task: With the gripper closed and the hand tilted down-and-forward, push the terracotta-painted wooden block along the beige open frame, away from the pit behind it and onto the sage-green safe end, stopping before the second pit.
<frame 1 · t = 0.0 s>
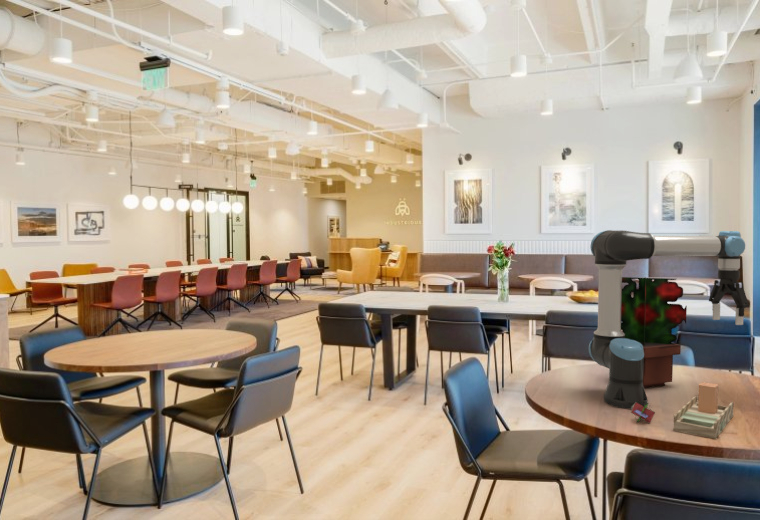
hand: (727, 322, 234), 28 cm above the table, fingers open, 13 cm apart
block: (707, 410, 199), point 3 cm above the table, touching beige open frame
icosahedron model: (642, 422, 196), on the table
potted plant: (643, 384, 247), on the table
beige open frame: (704, 423, 195), on the table
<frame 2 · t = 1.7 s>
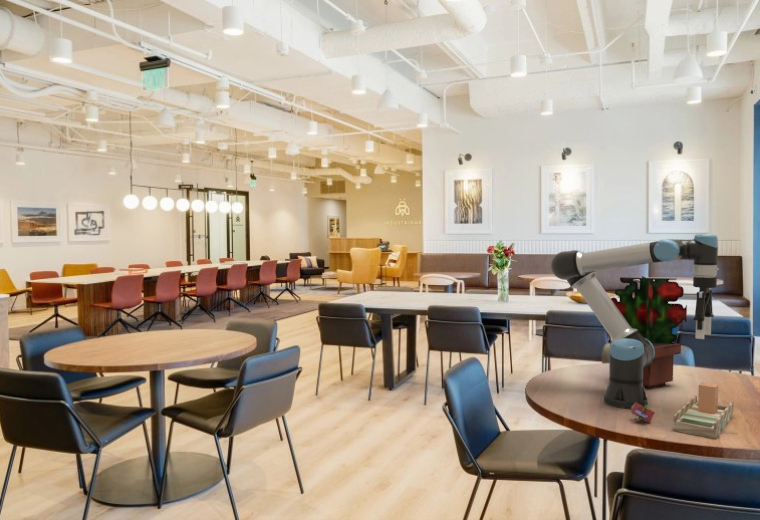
hand: (703, 336, 213), 26 cm above the table, fingers open, 11 cm apart
potted plant: (644, 384, 246), on the table, touching arm
everything else where it was.
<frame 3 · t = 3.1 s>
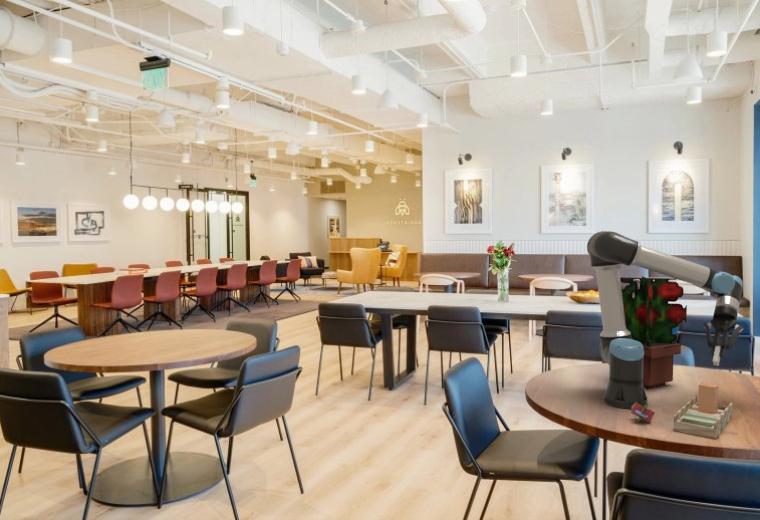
hand: (715, 363, 206), 18 cm above the table, fingers closed
potted plant: (644, 384, 246), on the table
everything else where it was.
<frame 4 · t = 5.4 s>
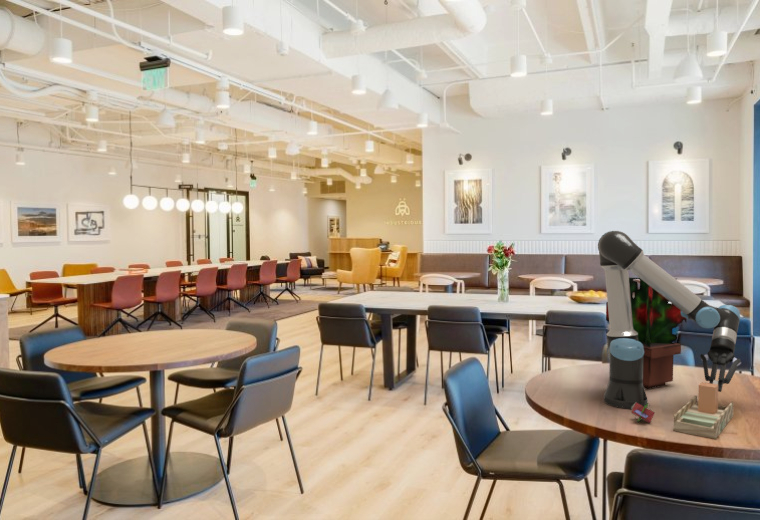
hand: (713, 398, 201), 7 cm above the table, fingers closed
block: (707, 410, 199), point 3 cm above the table, touching beige open frame, gripper
everything else where it was.
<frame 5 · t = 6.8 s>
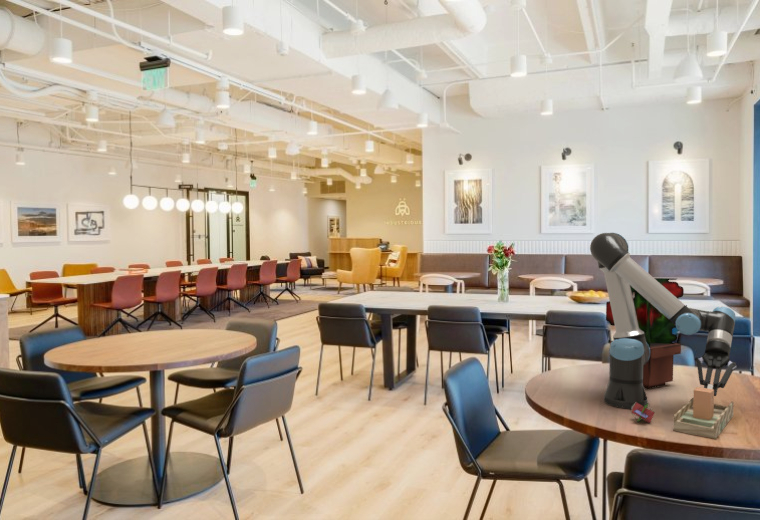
hand: (708, 402, 195), 7 cm above the table, fingers closed
block: (703, 416, 192), point 3 cm above the table, touching gripper
everything else where it was.
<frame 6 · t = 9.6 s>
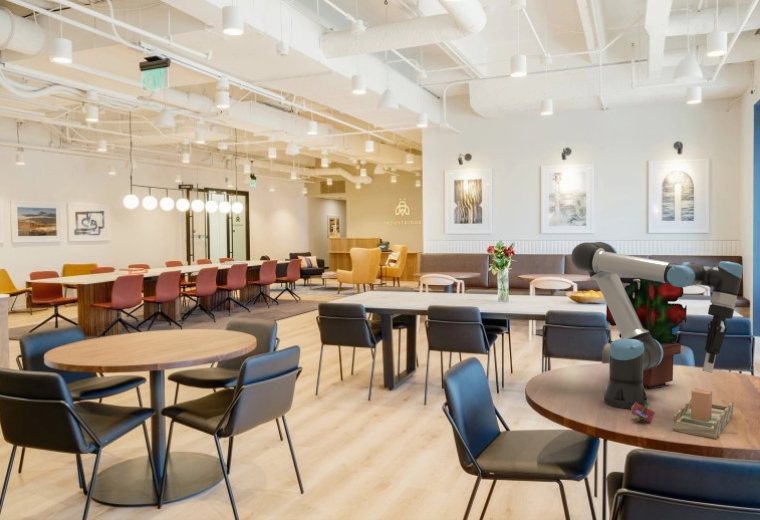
hand: (707, 371, 203), 15 cm above the table, fingers closed
block: (701, 418, 191), point 3 cm above the table, touching beige open frame
everything else where it was.
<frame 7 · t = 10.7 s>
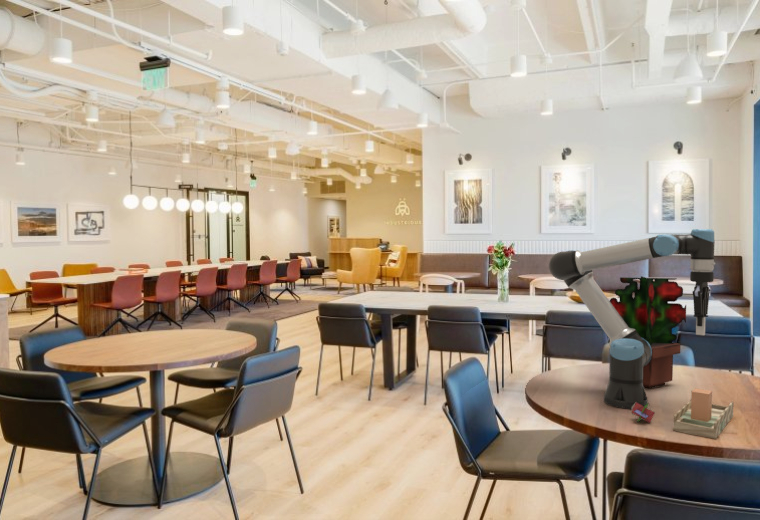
hand: (700, 334, 215), 26 cm above the table, fingers closed
nothing on the table moved.
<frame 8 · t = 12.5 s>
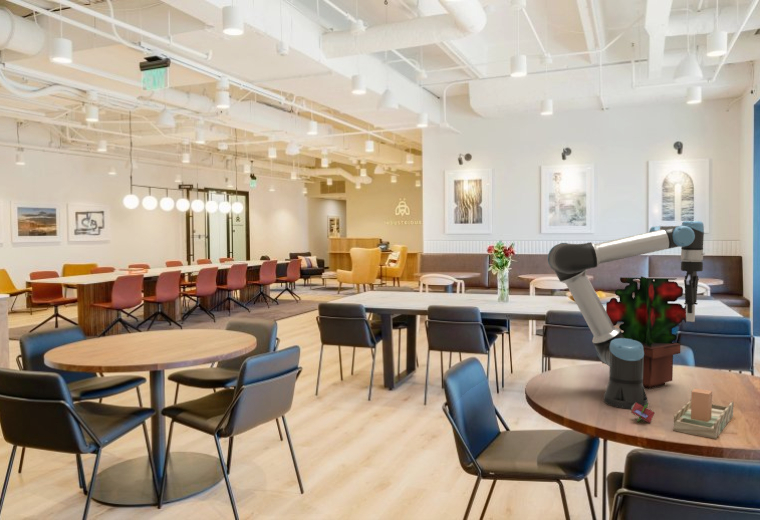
hand: (690, 321, 227), 29 cm above the table, fingers closed
nothing on the table moved.
at the end: block inside the target area on the beige open frame (1.0 cm from its centre), point 2.9 cm above the beige open frame's base; block tilted 0° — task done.
